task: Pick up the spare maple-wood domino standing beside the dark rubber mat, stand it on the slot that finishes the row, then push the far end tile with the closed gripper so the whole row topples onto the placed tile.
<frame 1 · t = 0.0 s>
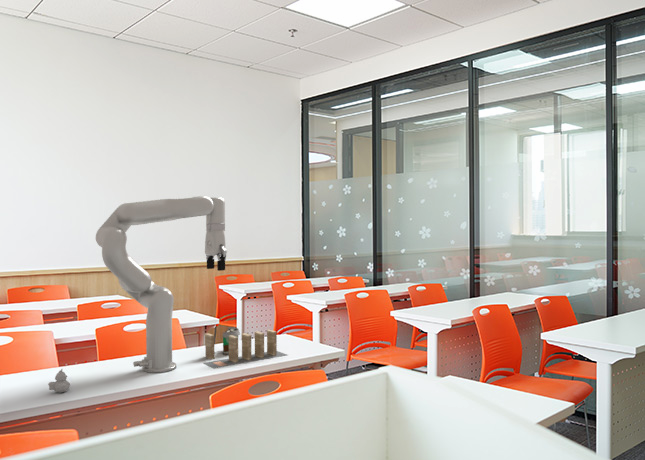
hand: (215, 269, 224), 37 cm above the table, tool pointing down, fingers open, 9 cm apart
domino 1: (271, 354, 230), resting on domino mat
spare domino: (209, 358, 225), on the table
domino 2: (259, 356, 227), resting on domino mat
domino 4: (233, 361, 219), resting on domino mat
domino mat: (246, 359, 223), on the table
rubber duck: (59, 393, 182), on the table
domino 3: (246, 358, 223), resting on domino mat
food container: (232, 353, 235), on the table
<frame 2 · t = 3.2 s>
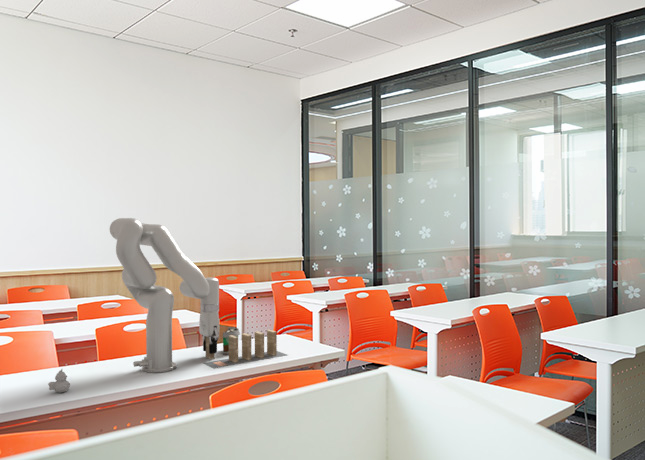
hand: (210, 351, 225), 3 cm above the table, tool pointing down, fingers closed on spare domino, 4 cm apart
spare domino: (210, 358, 225), on the table, touching gripper
everything else where it was.
when the fingers open (4 cm above the table, at t = 8.5 s): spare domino stays where it is, resting on domino mat.
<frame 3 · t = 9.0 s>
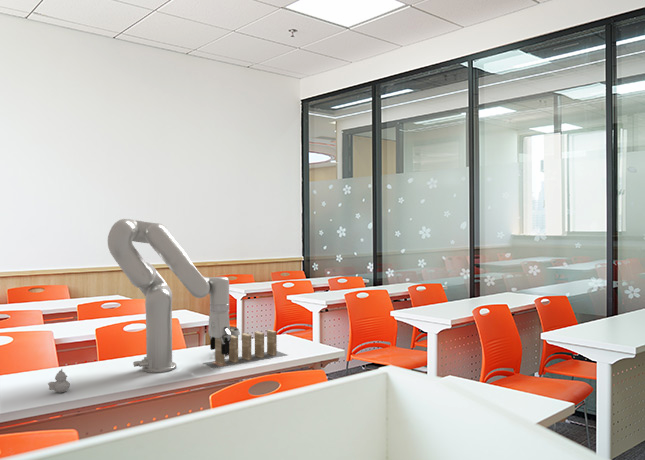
hand: (219, 351, 216), 5 cm above the table, tool pointing down, fingers open, 9 cm apart
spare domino: (219, 363, 216), resting on domino mat
everything else where it was.
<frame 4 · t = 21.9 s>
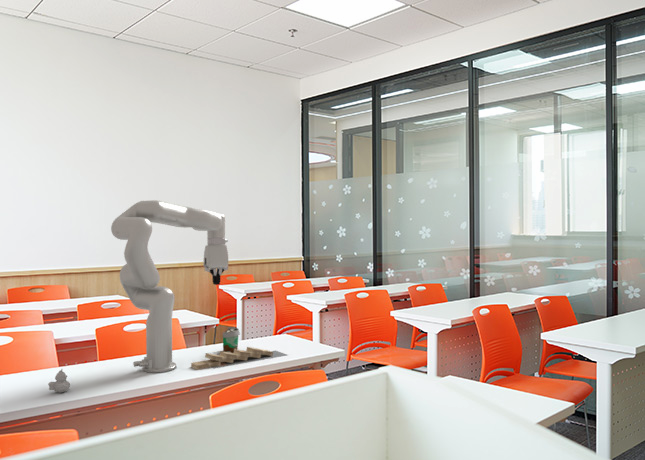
hand: (216, 284, 237), 29 cm above the table, tool pointing down, fingers closed
domino 1: (269, 353, 230), point 1 cm above the table, tilted 74°, touching domino 2, domino mat
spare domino: (217, 361, 215), point 1 cm above the table, tilted 90°, touching domino 4, domino mat
domino 2: (257, 355, 226), point 1 cm above the table, tilted 75°, touching domino 1, domino 3, domino mat
domino 4: (230, 359, 218), point 1 cm above the table, tilted 73°, touching domino 3, domino mat, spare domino
domino 3: (244, 357, 222), point 1 cm above the table, tilted 74°, touching domino 2, domino 4, domino mat
everything else where it was.
at the end: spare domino tilted 90°; domino 4 tilted 73° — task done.
